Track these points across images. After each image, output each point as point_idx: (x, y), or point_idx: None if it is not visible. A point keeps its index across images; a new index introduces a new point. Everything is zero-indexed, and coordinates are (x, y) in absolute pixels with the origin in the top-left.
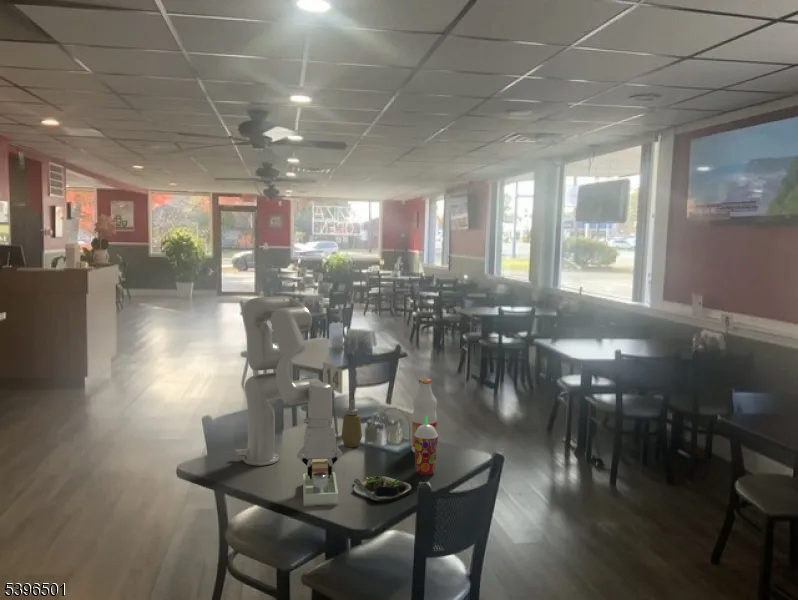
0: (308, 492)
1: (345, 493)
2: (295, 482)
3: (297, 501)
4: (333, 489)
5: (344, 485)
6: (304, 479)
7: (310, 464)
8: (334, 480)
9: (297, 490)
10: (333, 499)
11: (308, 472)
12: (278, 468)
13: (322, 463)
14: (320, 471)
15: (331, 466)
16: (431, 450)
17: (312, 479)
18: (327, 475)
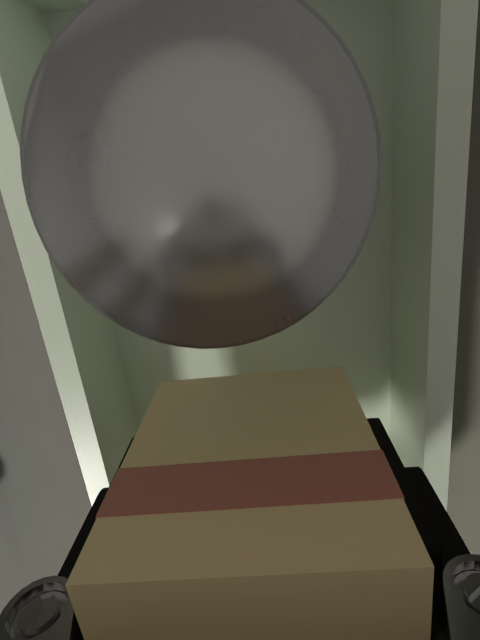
0: (361, 294)
1: (16, 309)
2: (464, 532)
3: (474, 100)
4: (126, 362)
5: (61, 470)
6: (435, 440)
7: (456, 607)
8: (82, 407)
9: (457, 379)
10: None
11: (423, 495)
12: None
13: (194, 622)
14: (239, 465)
15: (59, 586)
16: None
17: (346, 387)
18: (34, 138)
